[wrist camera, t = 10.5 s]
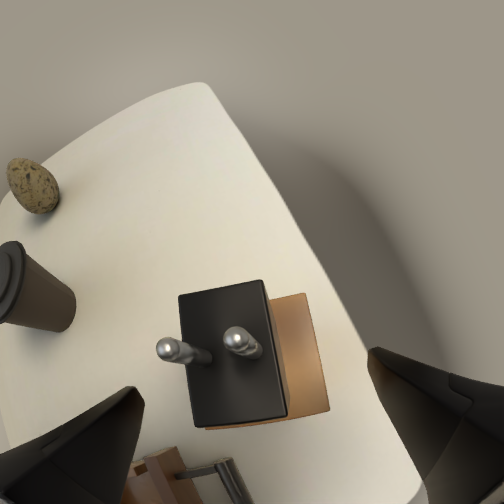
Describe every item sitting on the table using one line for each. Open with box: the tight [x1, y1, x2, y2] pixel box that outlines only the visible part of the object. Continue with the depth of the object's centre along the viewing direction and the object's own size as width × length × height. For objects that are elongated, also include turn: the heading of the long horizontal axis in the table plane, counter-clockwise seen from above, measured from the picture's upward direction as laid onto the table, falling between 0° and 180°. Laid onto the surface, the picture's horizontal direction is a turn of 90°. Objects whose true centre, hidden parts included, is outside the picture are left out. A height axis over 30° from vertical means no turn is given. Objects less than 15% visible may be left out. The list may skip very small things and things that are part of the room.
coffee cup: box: [0, 241, 76, 332], centre depth 22 cm, size 8×8×10 cm
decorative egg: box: [6, 158, 59, 214], centre depth 29 cm, size 6×6×10 cm
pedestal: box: [205, 293, 330, 430], centre depth 17 cm, size 6×6×10 cm
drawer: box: [120, 446, 255, 504], centre depth 15 cm, size 16×8×4 cm, turn 112°
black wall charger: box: [156, 279, 290, 428], centre depth 9 cm, size 4×3×9 cm, turn 9°
